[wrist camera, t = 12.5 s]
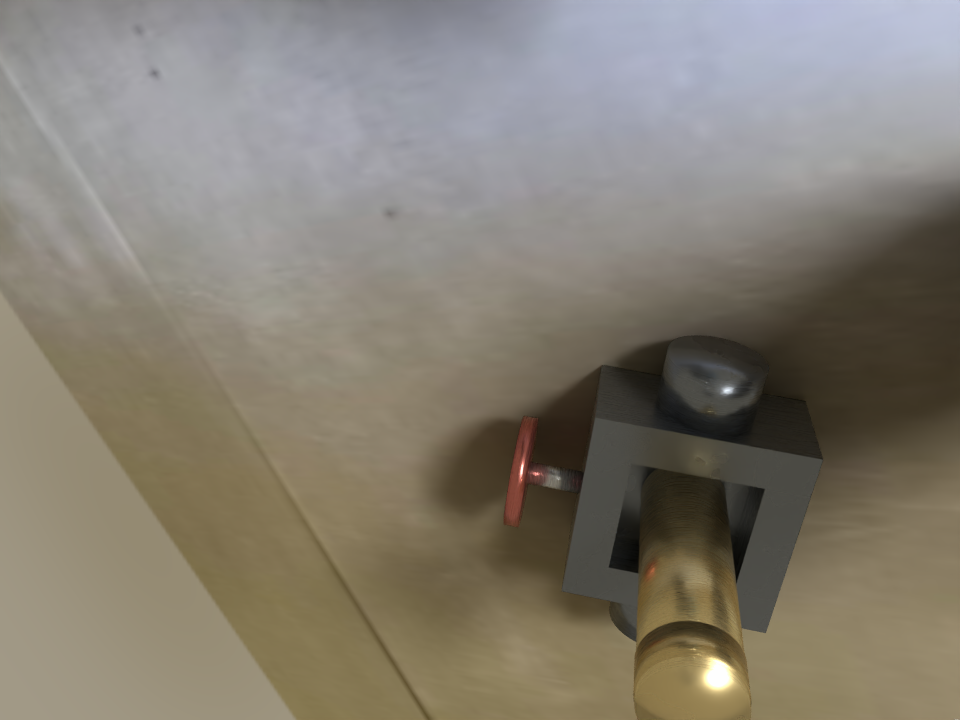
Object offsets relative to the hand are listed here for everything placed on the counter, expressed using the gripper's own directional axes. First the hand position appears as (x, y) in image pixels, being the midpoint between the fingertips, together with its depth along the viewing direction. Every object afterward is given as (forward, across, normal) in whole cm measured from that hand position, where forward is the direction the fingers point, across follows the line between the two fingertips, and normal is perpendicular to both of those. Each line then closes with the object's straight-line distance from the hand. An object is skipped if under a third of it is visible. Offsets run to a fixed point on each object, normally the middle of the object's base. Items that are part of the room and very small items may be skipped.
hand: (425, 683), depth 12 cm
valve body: (+37, +6, -18) cm, 41 cm away
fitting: (+34, +8, -18) cm, 39 cm away
